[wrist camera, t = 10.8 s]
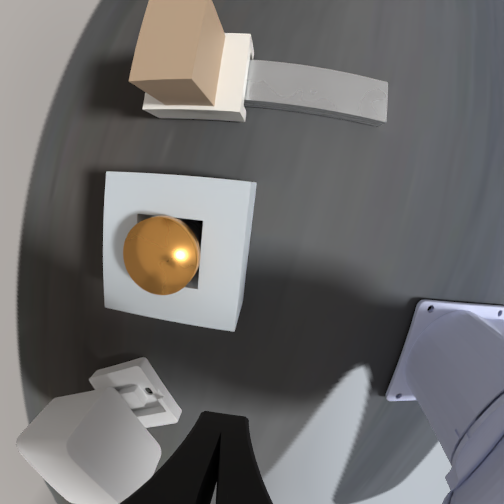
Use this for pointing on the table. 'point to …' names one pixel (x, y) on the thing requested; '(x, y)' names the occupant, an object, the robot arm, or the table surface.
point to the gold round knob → (163, 253)
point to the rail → (316, 92)
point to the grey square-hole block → (212, 244)
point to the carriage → (190, 62)
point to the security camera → (101, 435)
